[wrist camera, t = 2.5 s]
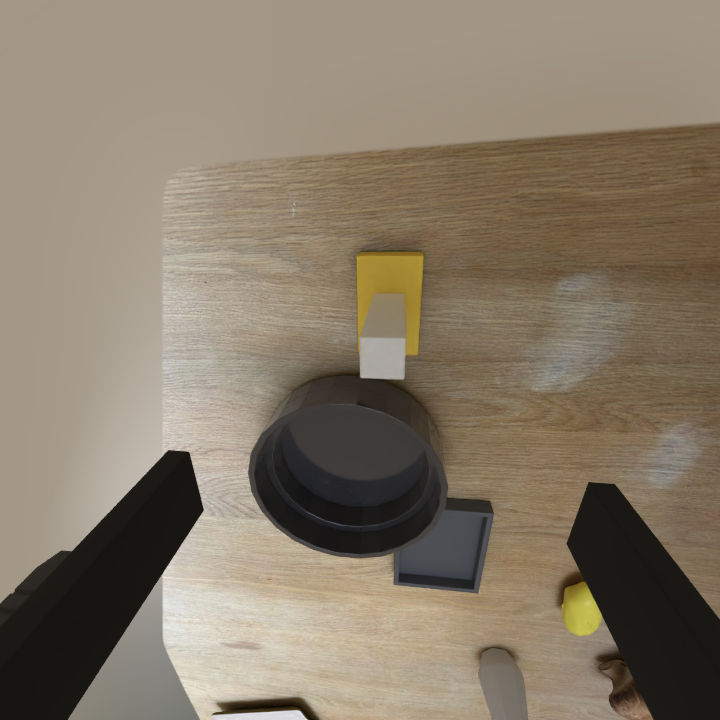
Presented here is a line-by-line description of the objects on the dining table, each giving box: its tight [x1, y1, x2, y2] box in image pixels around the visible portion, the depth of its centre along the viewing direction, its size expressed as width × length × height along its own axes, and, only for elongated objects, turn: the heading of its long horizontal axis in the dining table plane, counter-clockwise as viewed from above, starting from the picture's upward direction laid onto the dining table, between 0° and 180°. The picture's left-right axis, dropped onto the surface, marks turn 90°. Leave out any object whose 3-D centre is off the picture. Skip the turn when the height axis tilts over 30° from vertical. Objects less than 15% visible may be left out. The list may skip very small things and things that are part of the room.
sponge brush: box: [357, 251, 424, 380], centre depth 24 cm, size 8×5×13 cm, turn 1°
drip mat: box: [394, 498, 494, 593], centre depth 40 cm, size 13×10×2 cm
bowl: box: [248, 375, 448, 558], centre depth 34 cm, size 18×18×6 cm
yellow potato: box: [561, 582, 602, 636], centre depth 40 cm, size 4×8×4 cm, turn 179°
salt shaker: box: [478, 648, 528, 720], centre depth 43 cm, size 6×6×13 cm
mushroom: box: [598, 660, 653, 720], centre depth 44 cm, size 8×8×6 cm
